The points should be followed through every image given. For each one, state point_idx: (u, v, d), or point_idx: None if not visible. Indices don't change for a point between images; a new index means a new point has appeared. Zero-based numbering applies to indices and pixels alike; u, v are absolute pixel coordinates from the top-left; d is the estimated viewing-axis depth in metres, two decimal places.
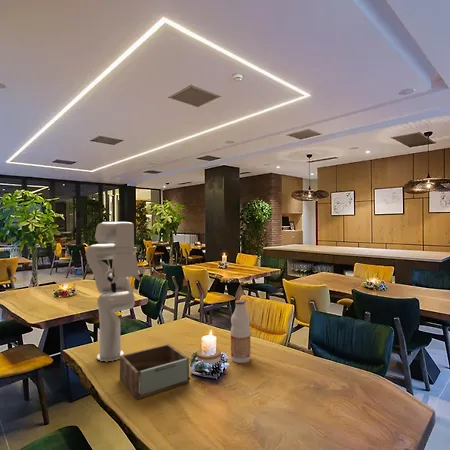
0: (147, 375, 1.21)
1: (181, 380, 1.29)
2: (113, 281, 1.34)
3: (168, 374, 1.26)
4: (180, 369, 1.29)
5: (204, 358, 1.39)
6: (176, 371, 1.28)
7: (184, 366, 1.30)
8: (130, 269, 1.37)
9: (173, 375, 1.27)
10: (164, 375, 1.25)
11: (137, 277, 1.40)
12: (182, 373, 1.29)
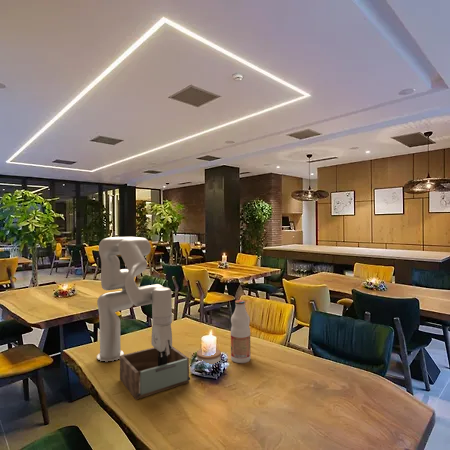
0: (147, 375, 1.21)
1: (181, 380, 1.29)
2: None
3: (168, 374, 1.26)
4: (180, 369, 1.28)
5: (204, 358, 1.39)
6: (176, 371, 1.27)
7: (184, 366, 1.29)
8: None
9: (173, 375, 1.27)
10: (164, 375, 1.25)
11: None
12: (182, 373, 1.29)
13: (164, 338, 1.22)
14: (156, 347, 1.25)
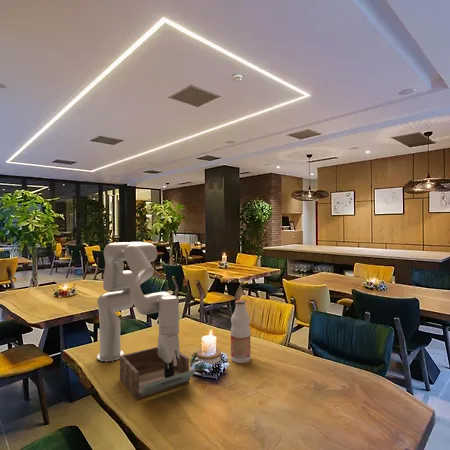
0: (152, 387, 1.17)
1: (181, 382, 1.29)
2: None
3: (172, 382, 1.23)
4: (184, 378, 1.26)
5: (204, 358, 1.39)
6: (180, 379, 1.25)
7: (189, 376, 1.26)
8: None
9: (176, 381, 1.25)
10: (168, 383, 1.22)
11: None
12: (185, 379, 1.27)
13: (171, 349, 1.17)
14: (163, 358, 1.20)
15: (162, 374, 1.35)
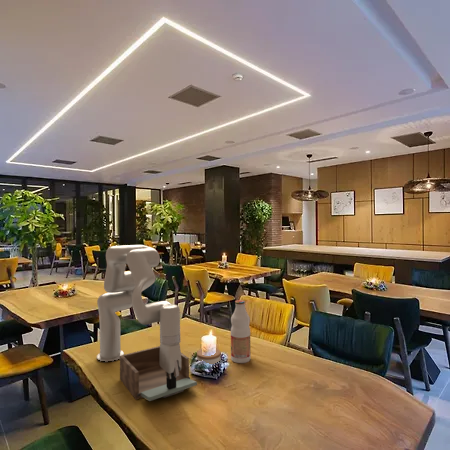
0: None
1: None
2: None
3: None
4: None
5: (204, 358, 1.39)
6: None
7: None
8: None
9: None
10: None
11: None
12: None
13: (173, 359, 1.16)
14: (164, 368, 1.18)
15: (162, 374, 1.35)
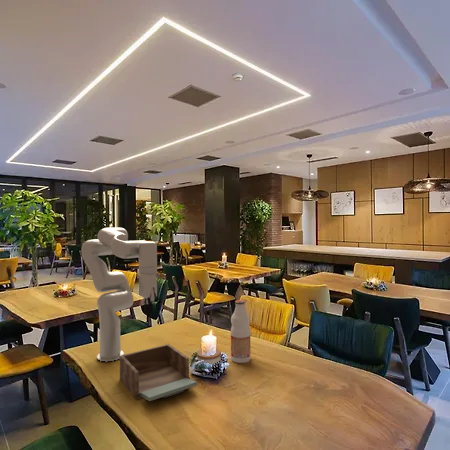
0: None
1: None
2: None
3: None
4: None
5: (204, 358, 1.39)
6: None
7: None
8: None
9: None
10: None
11: None
12: None
13: (149, 285, 1.33)
14: (142, 295, 1.36)
15: (162, 374, 1.35)
